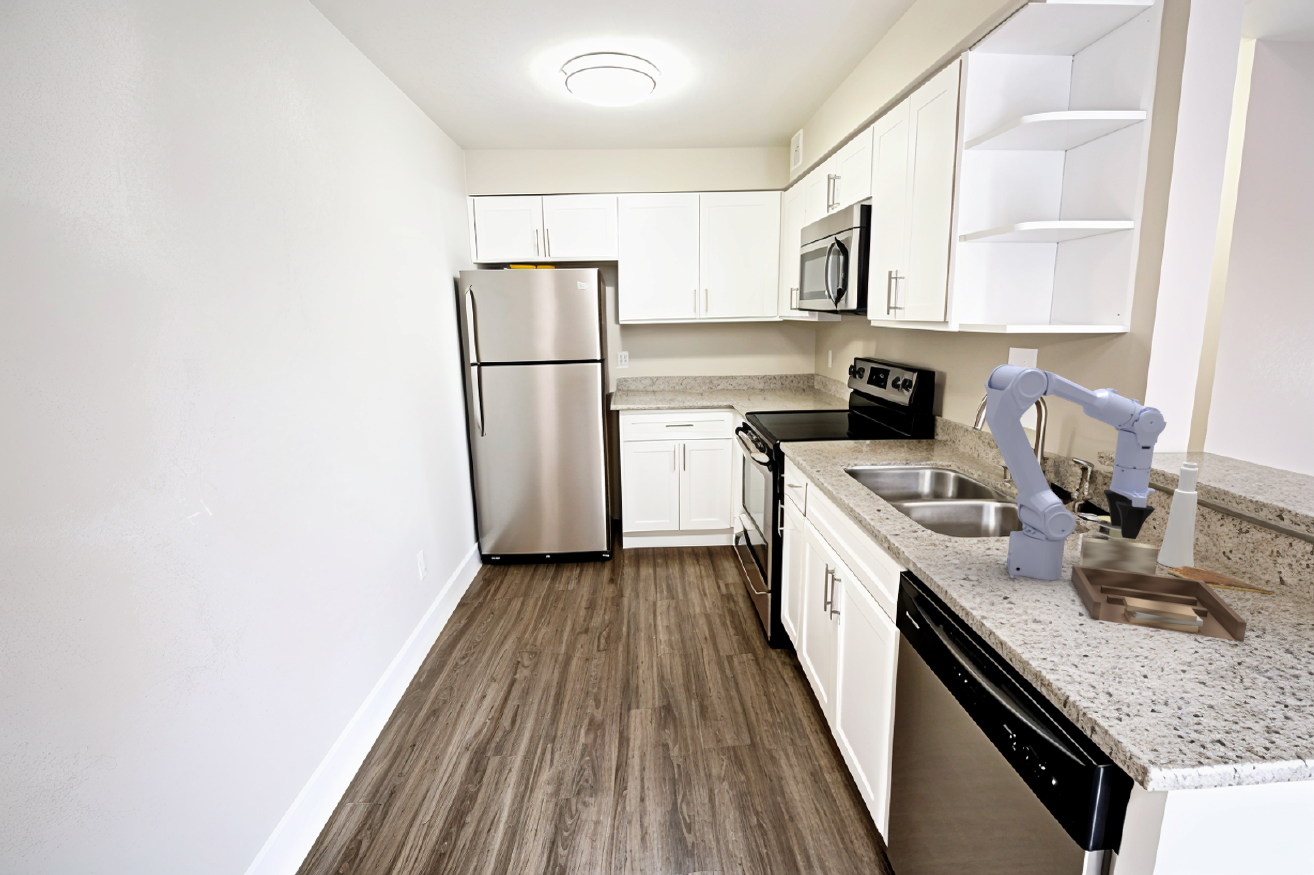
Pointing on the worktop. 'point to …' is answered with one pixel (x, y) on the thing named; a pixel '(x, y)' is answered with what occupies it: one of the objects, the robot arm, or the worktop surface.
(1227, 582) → the shard
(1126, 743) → the worktop surface
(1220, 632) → the rack
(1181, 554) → the cosmetic bottle
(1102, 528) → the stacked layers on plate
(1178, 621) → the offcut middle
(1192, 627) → the offcut bottom
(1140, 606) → the offcut top
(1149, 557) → the birch sheet
